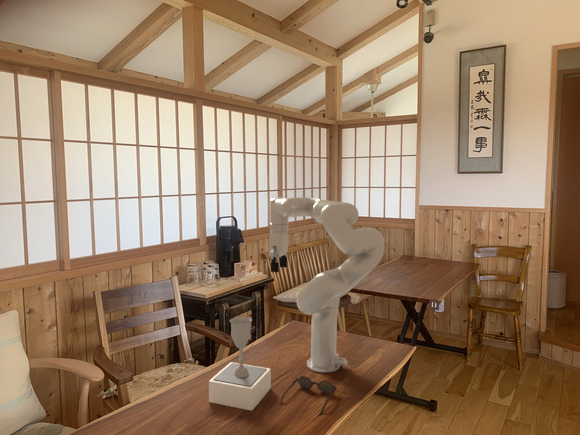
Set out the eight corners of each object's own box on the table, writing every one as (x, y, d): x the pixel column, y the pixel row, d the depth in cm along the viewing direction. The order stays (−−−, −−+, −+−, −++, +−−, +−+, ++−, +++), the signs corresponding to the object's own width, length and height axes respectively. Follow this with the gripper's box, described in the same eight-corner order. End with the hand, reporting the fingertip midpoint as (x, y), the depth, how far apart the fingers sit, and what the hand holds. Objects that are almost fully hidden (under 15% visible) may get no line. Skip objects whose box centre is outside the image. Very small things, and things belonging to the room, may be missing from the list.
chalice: (234, 380, 141) (233, 325, 139) (227, 371, 147) (226, 318, 145) (255, 375, 144) (255, 321, 143) (247, 367, 150) (247, 315, 149)
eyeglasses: (336, 395, 147) (336, 381, 147) (321, 418, 134) (321, 402, 133) (296, 386, 153) (296, 373, 153) (277, 407, 140) (277, 392, 139)
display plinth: (270, 388, 151) (270, 367, 150) (251, 410, 137) (251, 388, 136) (230, 381, 156) (230, 361, 155) (209, 402, 142) (208, 380, 141)
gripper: (278, 225, 190) (278, 264, 192) (262, 230, 174) (262, 273, 175) (295, 226, 187) (294, 266, 189) (280, 231, 171) (280, 274, 173)
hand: (279, 269), depth 182 cm, fingers open, 9 cm apart
